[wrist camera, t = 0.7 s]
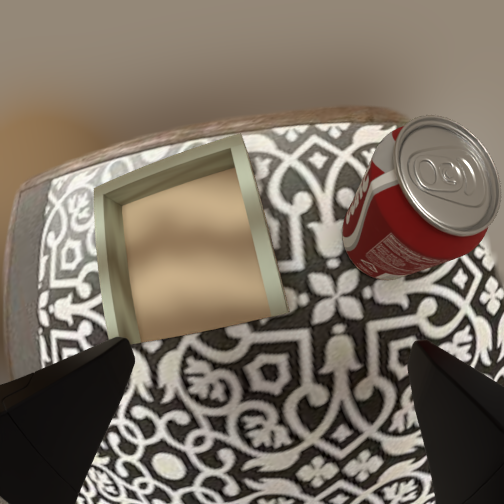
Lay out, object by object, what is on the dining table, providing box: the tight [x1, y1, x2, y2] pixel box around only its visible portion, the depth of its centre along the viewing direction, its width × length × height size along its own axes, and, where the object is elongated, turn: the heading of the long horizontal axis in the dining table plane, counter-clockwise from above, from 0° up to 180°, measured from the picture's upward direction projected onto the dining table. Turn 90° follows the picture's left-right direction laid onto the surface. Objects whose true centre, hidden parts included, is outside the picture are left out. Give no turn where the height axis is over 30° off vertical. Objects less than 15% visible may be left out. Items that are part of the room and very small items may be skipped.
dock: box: [94, 134, 290, 344], centre depth 21 cm, size 13×13×4 cm
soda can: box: [342, 115, 501, 280], centre depth 15 cm, size 7×7×12 cm
